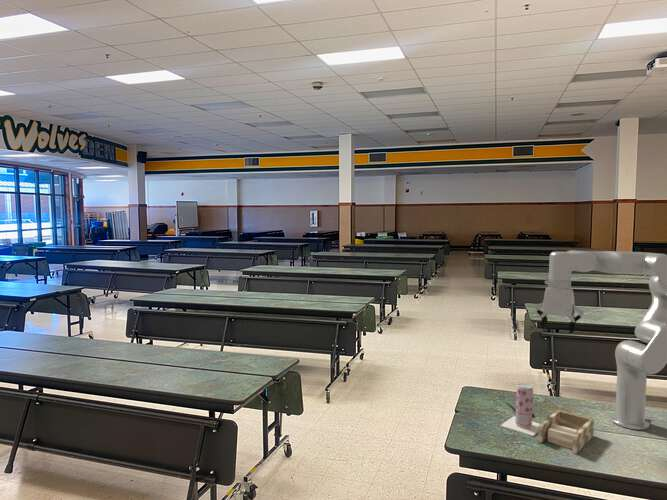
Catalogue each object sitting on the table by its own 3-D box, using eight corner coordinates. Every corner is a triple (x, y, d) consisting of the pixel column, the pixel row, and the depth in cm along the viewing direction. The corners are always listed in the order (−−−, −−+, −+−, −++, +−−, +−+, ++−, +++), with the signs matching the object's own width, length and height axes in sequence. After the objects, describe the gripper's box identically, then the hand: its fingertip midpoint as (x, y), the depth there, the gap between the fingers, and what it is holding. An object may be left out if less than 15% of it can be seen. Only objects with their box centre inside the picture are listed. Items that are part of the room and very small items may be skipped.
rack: (557, 425, 177) (557, 409, 177) (593, 435, 169) (593, 419, 168) (537, 442, 164) (538, 425, 163) (576, 454, 155) (576, 436, 155)
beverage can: (512, 424, 176) (514, 385, 175) (519, 420, 180) (521, 382, 179) (527, 429, 172) (528, 389, 171) (534, 425, 176) (535, 386, 175)
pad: (513, 417, 185) (513, 415, 185) (545, 426, 176) (545, 425, 176) (500, 426, 176) (500, 425, 176) (532, 436, 168) (533, 435, 168)
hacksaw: (535, 418, 185) (535, 414, 184) (509, 418, 184) (509, 414, 184) (511, 396, 209) (511, 392, 208) (488, 395, 208) (488, 392, 208)
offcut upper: (552, 430, 169) (552, 423, 168) (577, 436, 163) (577, 429, 163) (547, 436, 164) (548, 429, 164) (572, 443, 159) (573, 435, 159)
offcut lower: (553, 437, 169) (554, 430, 169) (577, 444, 163) (578, 437, 163) (547, 442, 164) (547, 435, 164) (572, 450, 159) (572, 443, 159)
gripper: (532, 283, 178) (530, 328, 179) (581, 288, 166) (579, 335, 167) (539, 281, 183) (538, 325, 184) (588, 286, 171) (586, 332, 172)
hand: (558, 330), depth 176 cm, fingers open, 9 cm apart
